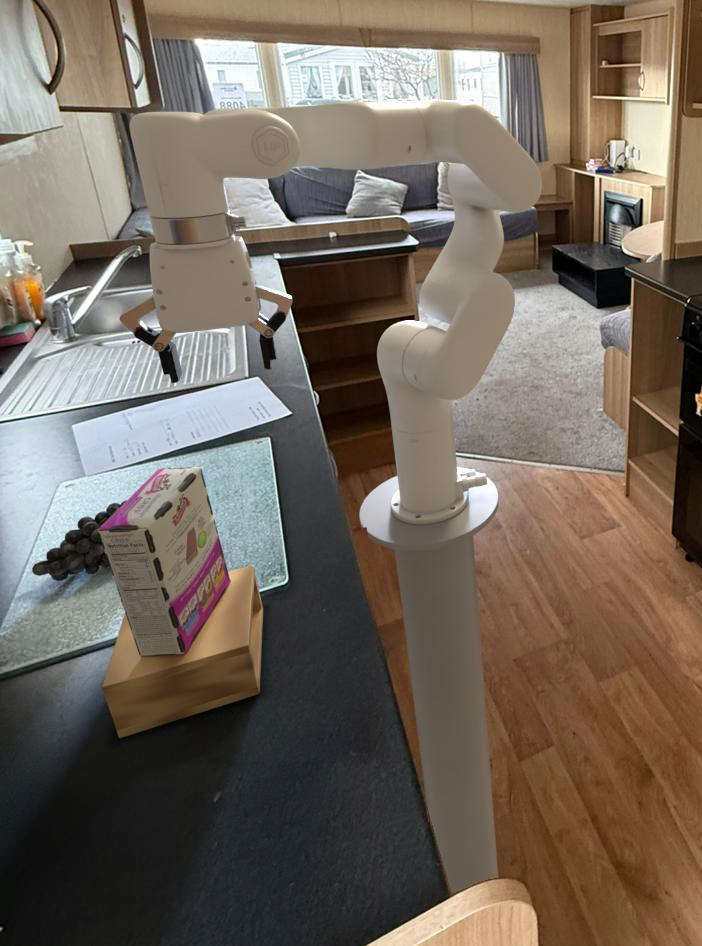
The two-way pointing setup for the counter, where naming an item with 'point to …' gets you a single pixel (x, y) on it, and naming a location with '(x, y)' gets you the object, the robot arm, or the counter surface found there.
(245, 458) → the counter surface
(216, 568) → the candy bar box
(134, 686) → the wooden block
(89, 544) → the fruit
